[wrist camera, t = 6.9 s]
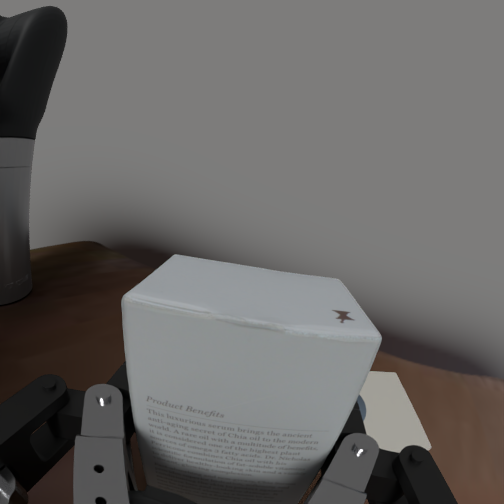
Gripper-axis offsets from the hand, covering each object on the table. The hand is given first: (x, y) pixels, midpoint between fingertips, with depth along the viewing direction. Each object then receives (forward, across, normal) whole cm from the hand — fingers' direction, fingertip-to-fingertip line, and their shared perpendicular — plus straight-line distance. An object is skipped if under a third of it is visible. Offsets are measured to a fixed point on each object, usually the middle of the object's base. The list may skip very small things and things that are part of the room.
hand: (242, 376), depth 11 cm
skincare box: (-2, 0, +7) cm, 8 cm away
